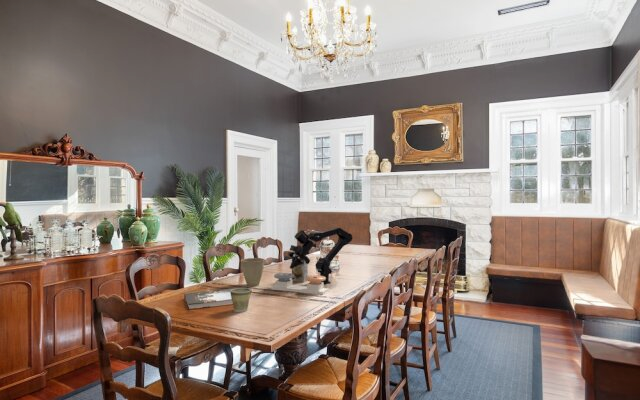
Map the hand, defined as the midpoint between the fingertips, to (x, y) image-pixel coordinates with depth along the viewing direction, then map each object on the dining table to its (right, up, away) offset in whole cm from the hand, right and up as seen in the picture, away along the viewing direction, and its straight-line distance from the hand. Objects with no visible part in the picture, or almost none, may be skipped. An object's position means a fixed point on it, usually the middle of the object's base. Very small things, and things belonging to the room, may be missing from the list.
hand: (290, 268), depth 248 cm
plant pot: (-24, -12, +9) cm, 28 cm away
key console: (+6, -12, -6) cm, 15 cm away
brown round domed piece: (+15, -10, -10) cm, 21 cm away
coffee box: (+5, -12, +20) cm, 24 cm away
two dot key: (-4, -9, -2) cm, 10 cm away
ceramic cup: (-20, -13, -46) cm, 52 cm away
